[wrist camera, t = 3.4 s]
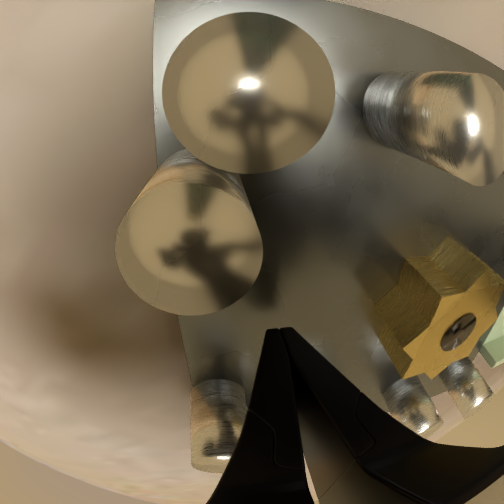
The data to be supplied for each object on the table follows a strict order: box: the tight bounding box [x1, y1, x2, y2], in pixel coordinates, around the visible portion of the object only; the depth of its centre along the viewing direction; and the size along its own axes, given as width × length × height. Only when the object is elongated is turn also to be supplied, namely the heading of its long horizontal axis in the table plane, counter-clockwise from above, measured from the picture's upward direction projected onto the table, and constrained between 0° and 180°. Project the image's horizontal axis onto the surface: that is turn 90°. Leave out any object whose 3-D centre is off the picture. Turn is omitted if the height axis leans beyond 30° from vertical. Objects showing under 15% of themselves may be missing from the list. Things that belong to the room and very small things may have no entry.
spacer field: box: [115, 0, 504, 475], centre depth 9 cm, size 18×20×4 cm
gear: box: [374, 236, 504, 380], centre depth 10 cm, size 6×6×2 cm
